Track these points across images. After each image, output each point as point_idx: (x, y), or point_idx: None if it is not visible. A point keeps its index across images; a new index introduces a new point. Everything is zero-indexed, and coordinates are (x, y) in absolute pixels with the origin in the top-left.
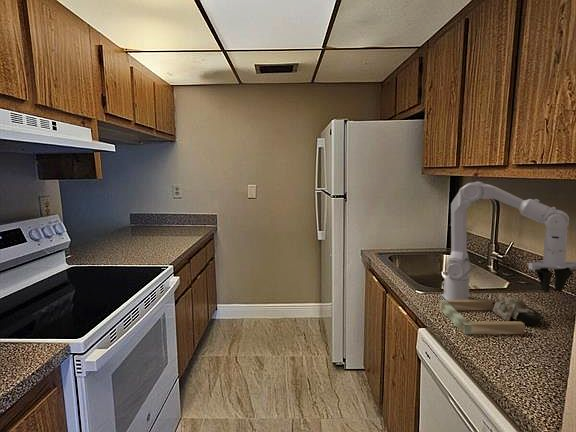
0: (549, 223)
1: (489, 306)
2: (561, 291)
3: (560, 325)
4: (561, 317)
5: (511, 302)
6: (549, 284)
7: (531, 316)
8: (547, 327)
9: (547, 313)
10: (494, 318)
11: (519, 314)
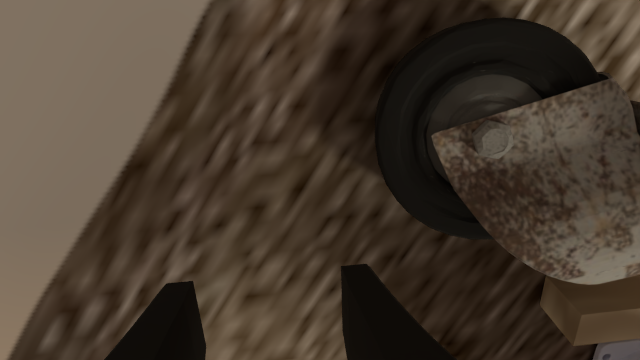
0: None
1: (578, 289)
2: (165, 287)
3: (252, 48)
4: (164, 193)
5: None
6: (377, 332)
7: (502, 59)
8: (374, 6)
9: (227, 251)
10: None
11: (592, 77)
